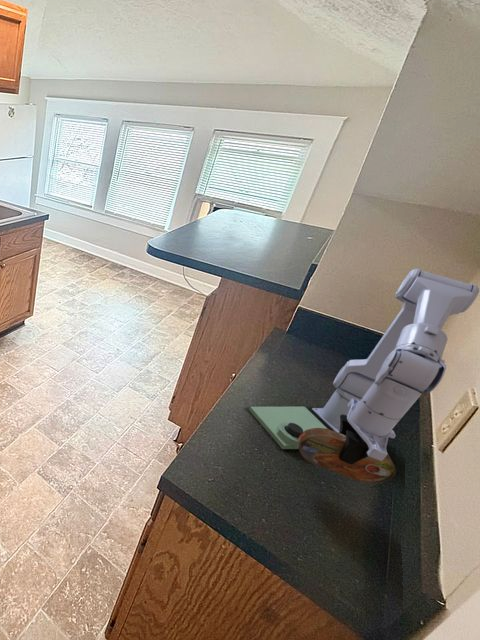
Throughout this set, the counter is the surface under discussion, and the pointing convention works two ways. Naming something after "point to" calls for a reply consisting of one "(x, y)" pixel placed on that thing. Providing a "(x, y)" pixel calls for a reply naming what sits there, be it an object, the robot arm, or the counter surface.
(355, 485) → the counter surface
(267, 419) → the pale green flat piece
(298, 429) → the button
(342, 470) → the tin
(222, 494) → the counter surface
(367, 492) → the counter surface
